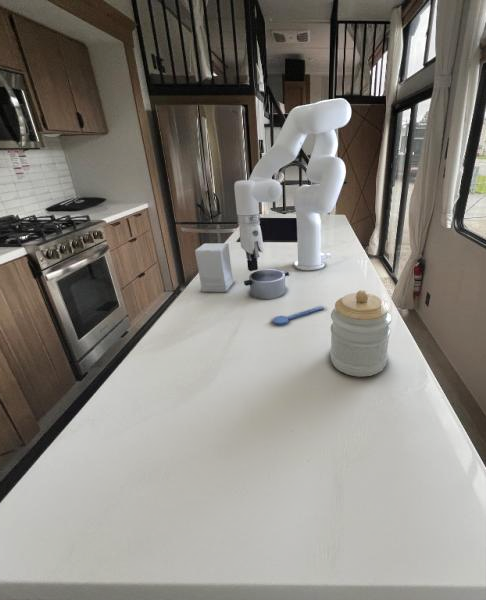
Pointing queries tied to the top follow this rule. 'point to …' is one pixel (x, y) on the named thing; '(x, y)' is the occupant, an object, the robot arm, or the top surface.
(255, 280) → the pot
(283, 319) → the spoon
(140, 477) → the top surface
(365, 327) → the jar
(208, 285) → the white product box
